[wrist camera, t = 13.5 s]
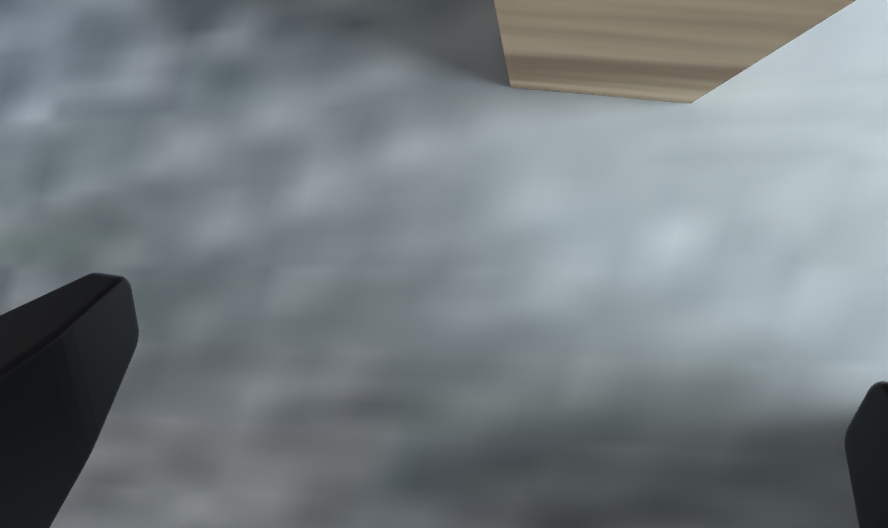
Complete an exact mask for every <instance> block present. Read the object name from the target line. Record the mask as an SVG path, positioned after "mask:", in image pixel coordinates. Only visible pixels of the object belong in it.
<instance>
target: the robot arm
mask: <svg viewBox="0 0 888 528" xmlns="http://www.w3.org/2000/svg"><path fill="white" fill-rule="evenodd" d="M138 336H139V329H138V322H137V317H136V311H135V306H134V300H133V295H132V289H131V286H130V283H129V281H128V280H127V279H126V278H124V277H122V276H117V275H109V274H102V273H91V274H88V275H86V276H84V277H82V278H80V279H78V280H75V281H73V282H71V283H69V284H67V285H65V286H63V287H60V288H58V289H56V290H54V291H52V292H50V293H48V294H45V295H43V296H41V297H39V298H37V299H35V300H33V301H31V302H28V303H26V304H24V305H22V306H20V307H18V308H16V309H13V310H11V311H9V312H7V313H5V314H3V315H1V316H0V528H50V526H51V524H52V522H53V520H54V519H55V517H56V515H57V513H58V512H59V510H60V508H61V506H62V504H63V503H64V501H65V499H66V497H67V496H68V494H69V492H70V490H71V488H72V487H73V485H74V483H75V481H76V480H77V478H78V476H79V474H80V473H81V471H82V469H83V467H84V465H85V463H86V461H87V460H88V458H89V456H90V454H91V452H92V450H93V448H94V445H95V443H96V441H97V439H98V437H99V434H100V432H101V430H102V427H103V425H104V423H105V420H106V418H107V415H108V413H109V411H110V408H111V406H112V404H113V401H114V399H115V396H116V394H117V392H118V389H119V387H120V385H121V382H122V380H123V377H124V375H125V373H126V370H127V368H128V365H129V363H130V361H131V358H132V356H133V354H134V351H135V349H136V346H137V342H138ZM845 451H846V457H847V462H848V468H849V473H850V479H851V484H852V490H853V495H854V501H855V506H856V512H857V517H858V523H859V528H888V382H886V381H881V382H877V383H875V384H874V385H872V386H871V388H870V389H869V390H868V392H867V394H866V396H865V398H864V399H863V401H862V403H861V405H860V407H859V408H858V410H857V412H856V414H855V416H854V417H853V419H852V421H851V423H850V425H849V426H848V429H847V432H846V436H845Z"/></svg>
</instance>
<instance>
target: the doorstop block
mask: <svg viewBox="0 0 888 528" xmlns="http://www.w3.org/2000/svg"><path fill="white" fill-rule="evenodd" d="M854 1H855V0H494V4H495V9H496V14H497V20H498V25H499V30H500V35H501V40H502V46H503V51H504V56H505V61H506V66H507V72H508V77H509V82H510V87H512V88H523V89H534V90H546V91H557V92H569V93H580V94H592V95H603V96H614V97H626V98H637V99H649V100H660V101H671V102H683V103H692V102H694V101H695V100H697V99H699V98H700V97H702V96H703V95H705V94H707V93H708V92H710V91H711V90H713V89H715V88H716V87H718V86H719V85H721V84H723V83H724V82H726V81H727V80H729V79H731V78H732V77H734V76H735V75H737V74H739V73H740V72H742V71H743V70H745V69H747V68H748V67H750V66H751V65H753V64H755V63H756V62H758V61H759V60H761V59H763V58H764V57H766V56H767V55H769V54H771V53H772V52H774V51H775V50H777V49H779V48H780V47H782V46H783V45H785V44H787V43H788V42H790V41H791V40H793V39H795V38H796V37H798V36H799V35H801V34H803V33H804V32H806V31H807V30H809V29H811V28H812V27H814V26H815V25H817V24H819V23H820V22H822V21H823V20H825V19H827V18H828V17H830V16H831V15H833V14H835V13H836V12H838V11H839V10H841V9H843V8H844V7H846V6H847V5H849V4H851V3H852V2H854Z"/></svg>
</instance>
